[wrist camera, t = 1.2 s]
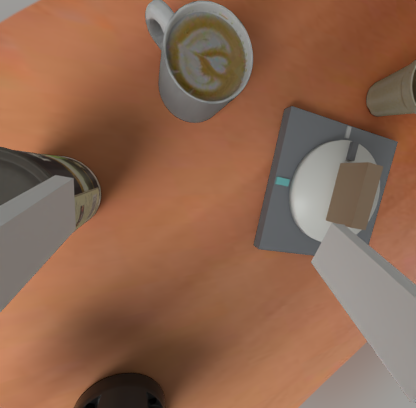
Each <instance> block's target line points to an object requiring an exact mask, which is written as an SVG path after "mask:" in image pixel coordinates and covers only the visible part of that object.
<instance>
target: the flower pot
mask: <svg viewBox="0 0 416 408" xmlns="http://www.w3.org/2000/svg"><path fill="white" fill-rule="evenodd" d="M366 103H367V107H368V108H369V109H370V113H371V114H372V115H374V116H387V115H399V114H411V113H415V114H416V60H415V61H413V62H412V63H411V64H410V65H408V66H406V67H404V68H403V69H401V70H399V71H397V72H395V73H393V74H391V75H389V76H388V77H386V78H384V79H382V80H380V81H378V82H376V83H375V84H374V85H373V86H372V87H371V88H370V89H369V91H368V94H367V99H366Z"/></svg>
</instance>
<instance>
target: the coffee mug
mask: <svg viewBox="0 0 416 408" xmlns="http://www.w3.org/2000/svg"><path fill="white" fill-rule="evenodd" d="M145 18H146V24H147V28H148V31H149V33H150V35H151V37H152V38H153V40H154V41H155V43H156V44H157V45H158V47H159V48H160V49H161V51H162V52H161V62H160V72H159V92H160V95H161V98H162V100H163V102H164V104H165V106H166V107H167V109H168V110H169V111H170V112H171V113H172V114H173V115H174V116H176V117H178V118H179V119H181V120H183V121H186V122H193V123H197V122H203V121H206V120H208V119H210V118H211V117H212V116H214V115H215V114H216V113H217V112H218V111H220V110H221V109H222V108H223V107H224V106H226V105H227V104H228V103H229V102H230V101H232V100H233V99H234V98H235V97H236V96H237V95H238V94H239V93H240V92H241V91H242V90H243V89H244V87H245V86H246V84H247V82H248V80H249V78H250V75H251V71H252V66H253V51H252V45H251V42H250V38H249V36H248V33H247V31H246V29H245V27H244V26H243V24H242V23H241V21H240V20H239V19H238V18H237V17H236V16H235V15H234V14H233V13H232V12H231V11H230V10H228V9H227V8H225V7H224V6H222V5H220V4H217V3H214V2H210V1H195V2H191V3H189V4H186V5H184V6H183V7H181V8H180V9H179V10H177V11H176V12H175V13H174V12H173V11H172V10H171V8H170V7H169V6H168V5H167V4H166V3H165V2H164V1H162V0H153V1H152V2H151V3H149V4H148V6H147V8H146V13H145Z"/></svg>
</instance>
